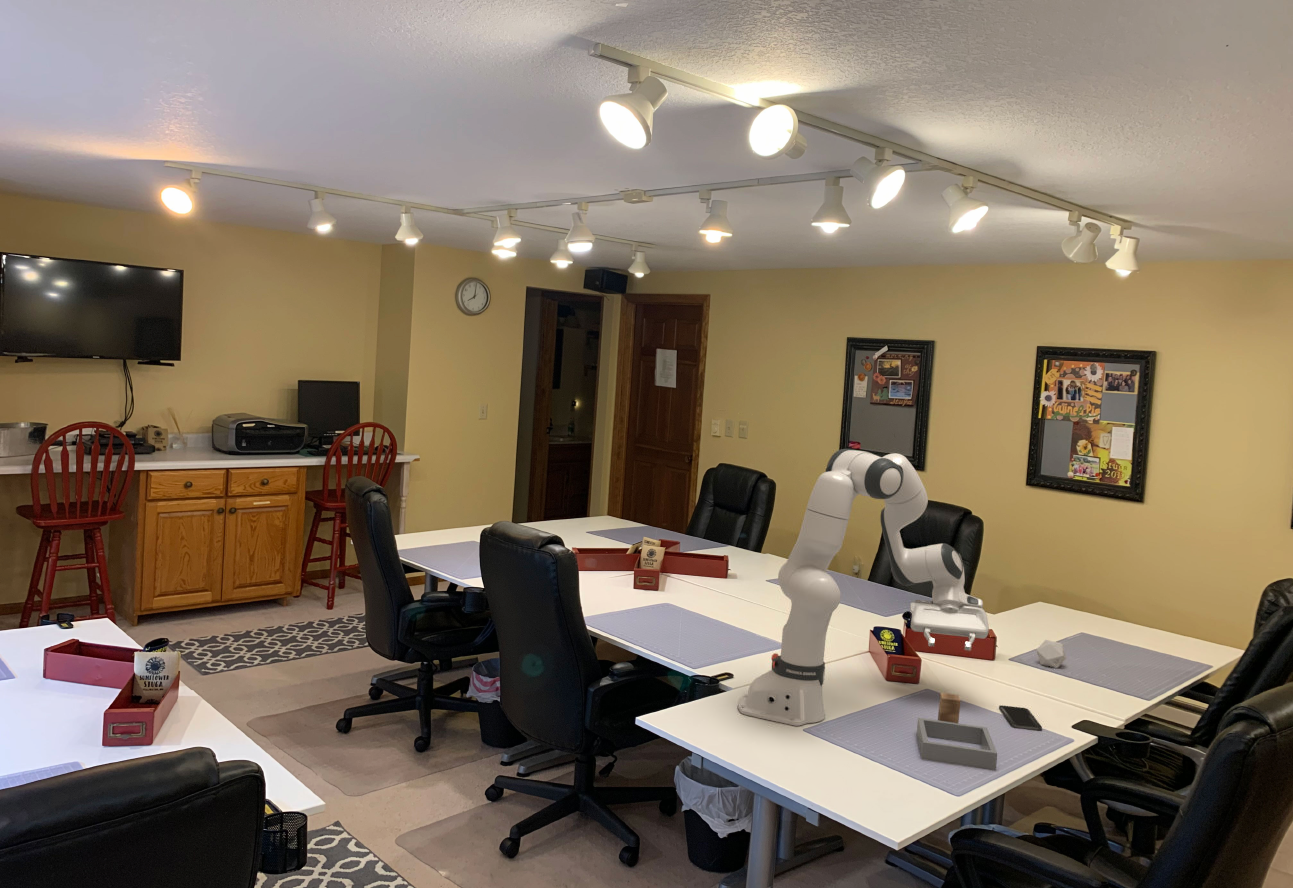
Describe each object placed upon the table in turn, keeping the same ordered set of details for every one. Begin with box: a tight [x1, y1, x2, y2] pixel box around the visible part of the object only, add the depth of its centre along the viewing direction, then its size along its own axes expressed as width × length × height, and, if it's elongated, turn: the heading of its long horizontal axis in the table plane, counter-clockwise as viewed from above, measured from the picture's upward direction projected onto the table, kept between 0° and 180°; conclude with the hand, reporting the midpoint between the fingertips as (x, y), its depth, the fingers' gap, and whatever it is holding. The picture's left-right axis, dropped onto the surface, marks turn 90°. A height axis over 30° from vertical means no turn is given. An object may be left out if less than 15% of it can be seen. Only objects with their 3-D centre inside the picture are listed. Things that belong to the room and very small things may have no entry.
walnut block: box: [937, 692, 961, 723], centre depth 235 cm, size 4×4×8 cm
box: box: [916, 717, 998, 771], centre depth 220 cm, size 16×16×4 cm
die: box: [1036, 639, 1067, 669], centre depth 296 cm, size 8×9×10 cm
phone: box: [998, 704, 1043, 732], centre depth 245 cm, size 8×1×15 cm
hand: (949, 647), depth 246 cm, fingers open, 8 cm apart
